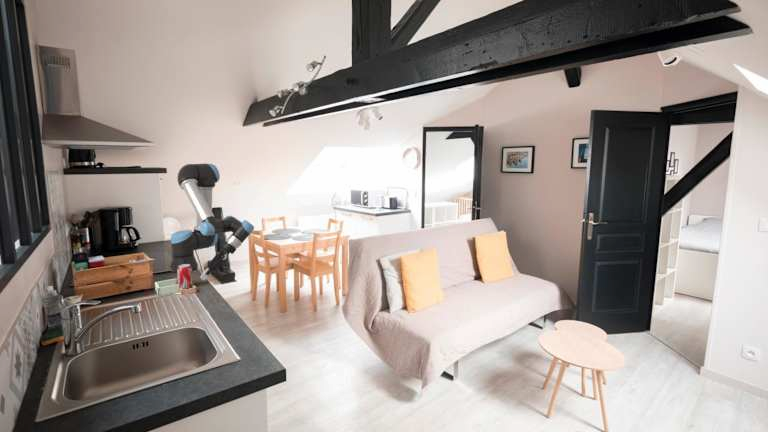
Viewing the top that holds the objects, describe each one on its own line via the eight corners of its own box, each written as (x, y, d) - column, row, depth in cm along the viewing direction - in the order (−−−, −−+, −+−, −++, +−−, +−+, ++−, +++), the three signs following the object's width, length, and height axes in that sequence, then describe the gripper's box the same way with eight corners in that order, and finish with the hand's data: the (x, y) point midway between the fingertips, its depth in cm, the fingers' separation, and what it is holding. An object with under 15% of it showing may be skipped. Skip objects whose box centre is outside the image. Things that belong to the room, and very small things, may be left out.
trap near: (195, 289, 199) (194, 285, 198) (196, 292, 195) (196, 287, 195) (180, 292, 195) (179, 288, 194) (181, 295, 191) (181, 290, 191)
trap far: (188, 280, 213) (187, 276, 213) (189, 282, 210) (189, 278, 209) (174, 283, 209) (173, 278, 209) (175, 285, 206) (175, 280, 205)
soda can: (189, 289, 199) (187, 267, 197) (175, 289, 199) (173, 267, 197) (196, 285, 206) (194, 263, 204) (183, 285, 206) (181, 263, 204)
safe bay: (175, 285, 205) (175, 278, 204) (179, 292, 195) (179, 284, 195) (155, 289, 199) (154, 282, 199) (158, 296, 190) (157, 288, 189)
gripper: (240, 250, 211) (210, 286, 203) (233, 246, 221) (204, 279, 214) (229, 242, 207) (198, 278, 199) (223, 238, 217) (193, 272, 210)
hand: (201, 279), depth 207 cm, fingers closed
